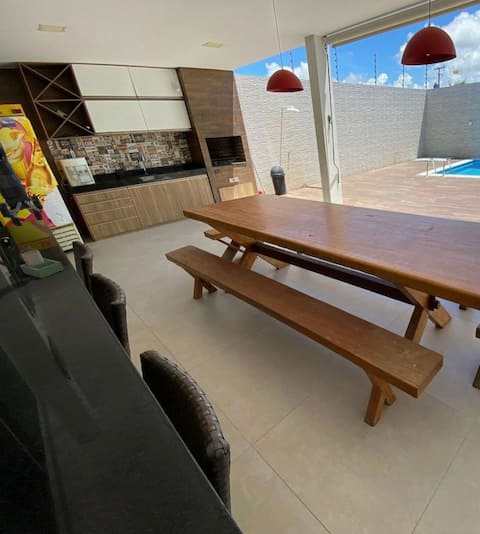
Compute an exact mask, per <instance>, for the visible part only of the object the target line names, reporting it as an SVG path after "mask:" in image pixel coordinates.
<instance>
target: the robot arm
mask: <svg viewBox="0 0 480 534" xmlns="http://www.w3.org/2000/svg"><path fill="white" fill-rule="evenodd" d="M0 196H1V198H2V199H3V200H4V202H0V214H1V216H2V217H3V218H4V219H6V218H7V219H10V220H11V221H12V223H13V225H14V226H16V227H22V226H23V224H22V221H21V220H20V218H19V217H18V214H19V213H20V211H23V210H30V211H31V212H33V215H34V217H35V219H36V220H37V221H43V220H44V219H43V218H44V217H43V215H42V213H41V210H44V206H43V204H42V202H41V201H40V199H39V198H38V196H37V195H30V196H28V192H27V190H26V188H25V187H24V185H23V183H22V181H21V179H20V177H19V176H18V175H17V173H16V172H15V169H14V168H13V166H12V164H11V162H10V161H9V158H8V156H7V153H6V151H5V149H4V146H3V144H2V142H1V141H0Z"/></svg>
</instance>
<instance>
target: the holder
mask: <svg viewBox="0 0 480 534" xmlns="http://www.w3.org/2000/svg"><path fill="white" fill-rule="evenodd" d="M43 259H44V261H45V262H44V263H41V264H38V265H35V266H32V267H28V265H27V263H24V264H20V265H19V266H20V268H21V271H23V273H24V274H25V275H28V276H33V277H36V278H39V279H44V278H47V277H49V276H52V274H53V275H55V274H58V273H60V272H59V271H61V272H64V271H65V270H66V269H65V268H64V266H63V264H62V262H61V261H57V260H52V259H48V258H45V257H43ZM63 270H64V271H63ZM57 272H58V273H57ZM54 273H55V274H54Z"/></svg>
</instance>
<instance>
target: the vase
mask: <svg viewBox="0 0 480 534" xmlns="http://www.w3.org/2000/svg"><path fill="white" fill-rule="evenodd" d="M35 250H37V249H36V248H33V247H31V246H30V245H23V246H21V249H20V252H19V259H20V260H21V261H22V262H23V263H26V262H25V260H24V258H23V257H22V254H24V253H26V252H30V251H35Z"/></svg>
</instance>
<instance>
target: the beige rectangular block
mask: <svg viewBox="0 0 480 534" xmlns="http://www.w3.org/2000/svg"><path fill="white" fill-rule="evenodd" d="M22 257H23V258H24V260H25V262H24V263H25V264H27V265H28V267H32V266H35V265H38V264H41V263H44V262H45V261H44V259H45V258H44V257H43V256H42V254H41V251H40V250H38V249H36V250H35V251H30V252H26V253H24V254H22ZM43 258H44V259H43Z"/></svg>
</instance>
